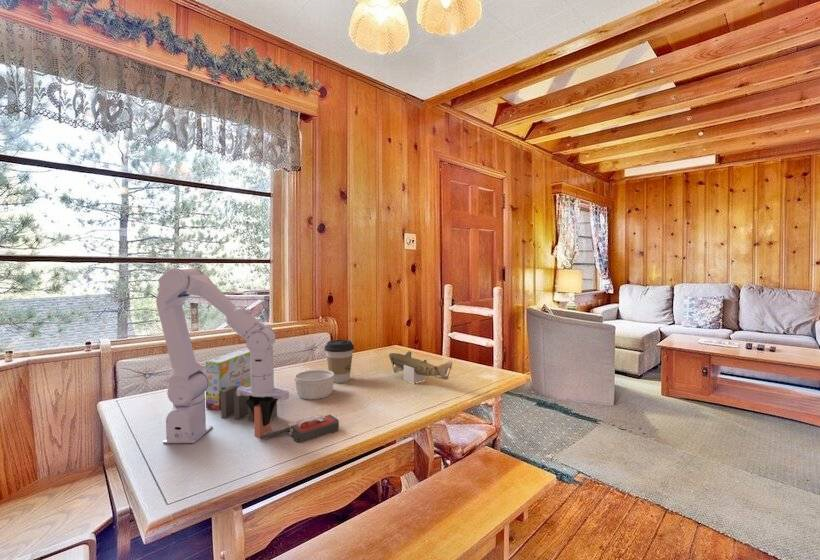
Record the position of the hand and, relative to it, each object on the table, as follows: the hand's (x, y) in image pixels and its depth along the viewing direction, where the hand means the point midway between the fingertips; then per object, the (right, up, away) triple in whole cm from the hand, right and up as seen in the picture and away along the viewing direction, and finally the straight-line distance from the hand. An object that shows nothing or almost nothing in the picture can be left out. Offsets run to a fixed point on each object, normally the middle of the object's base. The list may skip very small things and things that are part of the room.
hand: (263, 423), depth 101 cm
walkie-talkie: (+11, -3, -1) cm, 11 cm away
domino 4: (-1, -2, +9) cm, 9 cm away
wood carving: (+42, -1, +43) cm, 61 cm away
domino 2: (-10, -2, +11) cm, 15 cm away
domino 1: (-15, -2, +12) cm, 19 cm away
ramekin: (+7, -1, +30) cm, 30 cm away
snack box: (-19, -1, +26) cm, 33 cm away
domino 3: (-6, -2, +10) cm, 12 cm away
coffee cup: (+12, -1, +45) cm, 46 cm away
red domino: (0, -2, 0) cm, 2 cm away
